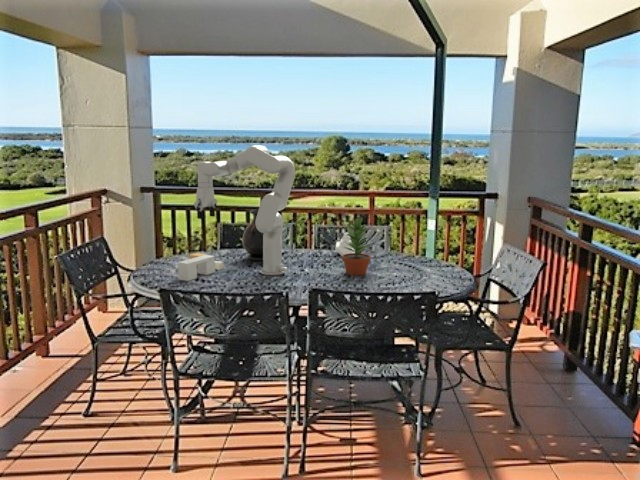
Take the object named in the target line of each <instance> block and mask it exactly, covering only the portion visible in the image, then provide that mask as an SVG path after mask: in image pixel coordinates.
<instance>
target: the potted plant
mask: <svg viewBox="0 0 640 480" xmlns="http://www.w3.org/2000/svg"><path fill="white" fill-rule="evenodd" d="M346 220H347V221H348V222H349V223H350V224H346V229H347V231H348V234H347V235H348V236H350V238H351V239H350V238H349V239H350V240H351V242H350V243H349V244H347V243H345V244H347V245H349V246H351V247H352V248H353V249H354V250H355V251H354V250H352V249H350V248H347V247H343V248H346V249H348V250H351V251H354V252H355V253H350V254H344V255H343V256H342V261H343V263H344V269H345V272H346V274H347V275H349V276H363V275H364V276H365V275H366V274H367V272H368V271H367V270H368V267H369V264H370V262H371V255H369V254H367V253H363V252H364V249H365V248H368V247H369V245H364V244H365V243H364V242H365V241H366V240H368V239H369V236H368V237H364V238H363V239H362V237H363V236H364V235H365V234H366V233H365V232H366V231H367V230H369V228H371V227H367V226H368V225H369V224H364V225H362V222H363V217H358V218H355V220H354V222H353V221H352V220H350V219H347V218H346ZM362 243H364V244H362Z"/></svg>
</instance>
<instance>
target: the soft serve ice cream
mask: <svg viewBox="0 0 640 480" xmlns="http://www.w3.org/2000/svg"><path fill="white" fill-rule="evenodd" d="M347 234H349V231H348V232H344V233H343V236H342V237H341V239H340V241H336V243H335V249H334V250H335V251H336V252H337V253H338V254H339V255H340V256H341V257H343V255H344V254H350V253H355V252H354V251H355V250H354V249H353V248H352V247H351V246H349V245H347V244H349V243H350V242H352V240H350V239H351V238H350V236H348V235H347ZM349 238H350V239H349ZM345 243H347V244H345ZM343 247H347V248H350V249H352V250H354V251H351V250H348V249H346V248H343Z"/></svg>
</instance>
